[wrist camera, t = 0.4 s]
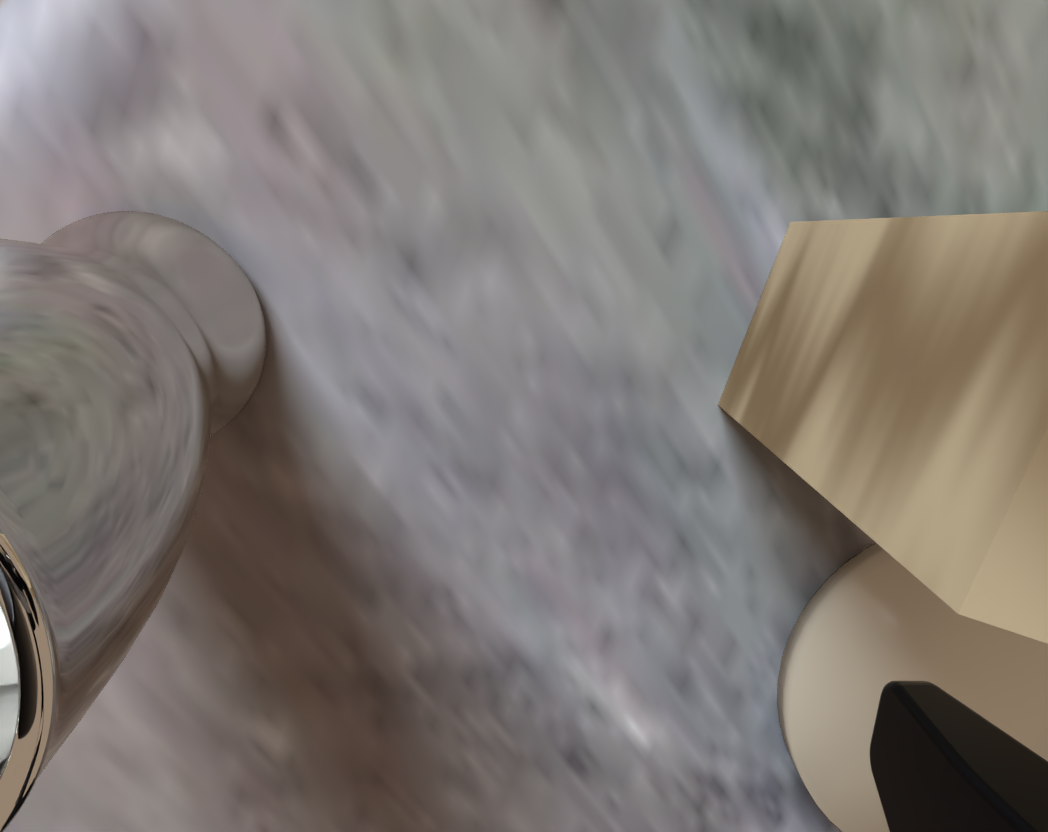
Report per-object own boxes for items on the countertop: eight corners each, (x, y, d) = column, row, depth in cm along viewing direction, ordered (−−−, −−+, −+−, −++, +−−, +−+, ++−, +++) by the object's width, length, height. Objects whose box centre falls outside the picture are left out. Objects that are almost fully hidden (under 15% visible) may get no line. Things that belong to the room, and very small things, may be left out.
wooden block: (890, 463, 24) (1327, 736, 11) (717, 404, 23) (958, 614, 10) (969, 286, 23) (1550, 355, 10) (790, 222, 22) (1152, 207, 9)
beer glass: (30, 148, 21) (-807, 173, 6) (318, 249, 22) (152, 448, 8) (-29, 414, 22) (-793, 896, 8) (243, 492, 24) (-4, 1012, 10)
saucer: (1121, 827, 26) (1149, 855, 25) (781, 854, 26) (794, 884, 25) (1140, 503, 24) (1172, 517, 23) (771, 535, 24) (784, 550, 23)
